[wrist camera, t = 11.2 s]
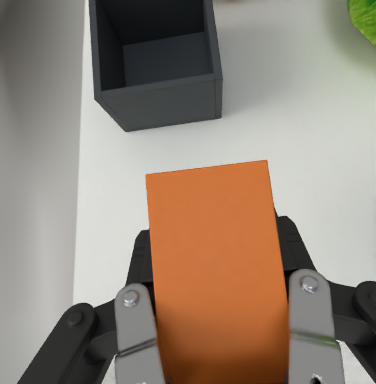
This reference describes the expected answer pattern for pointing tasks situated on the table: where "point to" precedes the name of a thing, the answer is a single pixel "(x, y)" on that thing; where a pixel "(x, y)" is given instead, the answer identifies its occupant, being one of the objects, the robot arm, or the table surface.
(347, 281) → the table surface
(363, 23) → the lettuce
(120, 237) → the table surface
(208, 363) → the block
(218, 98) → the dark grey open box
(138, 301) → the robot arm
